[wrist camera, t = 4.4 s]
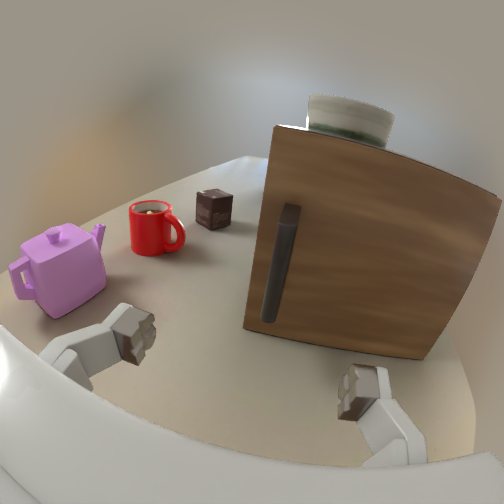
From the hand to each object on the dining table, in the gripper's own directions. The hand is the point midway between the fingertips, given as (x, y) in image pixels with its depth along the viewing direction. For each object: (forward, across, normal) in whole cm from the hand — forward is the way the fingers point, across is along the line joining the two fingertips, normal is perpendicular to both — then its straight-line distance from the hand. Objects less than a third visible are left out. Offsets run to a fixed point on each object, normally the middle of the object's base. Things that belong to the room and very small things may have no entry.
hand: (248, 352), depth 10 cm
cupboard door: (+16, -10, +16) cm, 25 cm away
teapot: (+14, +30, +17) cm, 37 cm away
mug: (+32, +22, +17) cm, 43 cm away
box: (+48, +18, +17) cm, 54 cm away
